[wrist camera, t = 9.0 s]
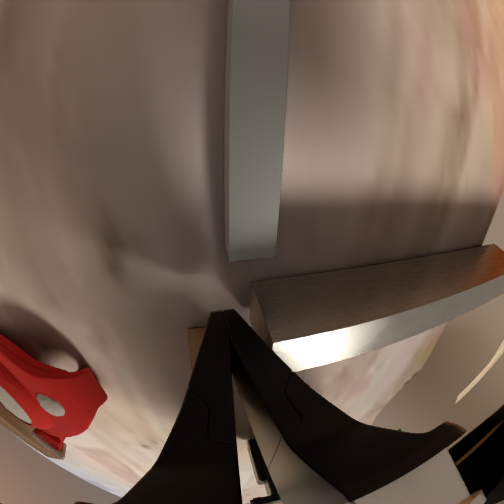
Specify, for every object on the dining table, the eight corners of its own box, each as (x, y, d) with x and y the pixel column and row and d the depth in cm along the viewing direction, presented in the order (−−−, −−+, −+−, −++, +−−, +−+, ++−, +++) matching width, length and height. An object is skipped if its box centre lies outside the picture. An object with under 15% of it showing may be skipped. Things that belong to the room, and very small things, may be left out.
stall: (221, 325, 12) (232, 371, 10) (231, 436, 20) (237, 461, 18) (-50, 330, 8) (-63, 358, 6) (50, 435, 16) (48, 456, 14)
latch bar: (494, 243, 14) (521, 266, 12) (484, 266, 15) (509, 289, 13) (250, 281, 10) (273, 343, 8) (249, 318, 12) (268, 377, 9)
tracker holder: (-55, 337, 7) (6, 357, 6) (-17, 303, 11) (64, 297, 10) (44, 459, 12) (145, 496, 11) (63, 422, 16) (160, 444, 15)
